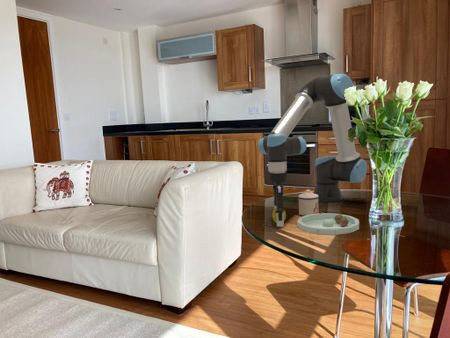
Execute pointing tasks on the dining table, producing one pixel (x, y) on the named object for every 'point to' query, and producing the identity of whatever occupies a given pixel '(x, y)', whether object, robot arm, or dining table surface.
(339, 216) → the walnut bead
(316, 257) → the dining table surface
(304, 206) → the teacup with lid
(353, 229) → the tray
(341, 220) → the walnut bead
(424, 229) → the dining table surface
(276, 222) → the lemon
